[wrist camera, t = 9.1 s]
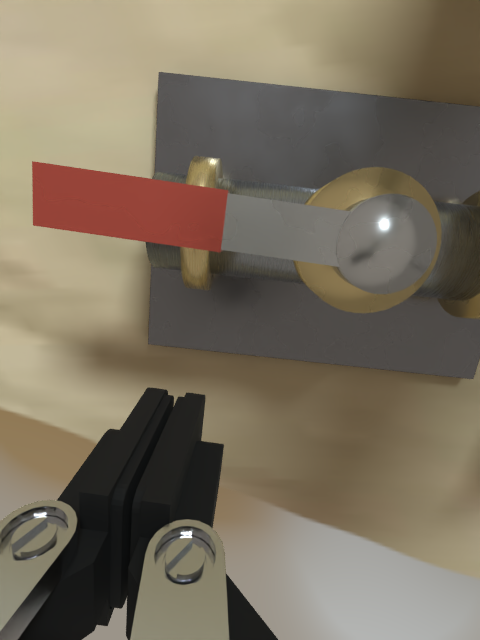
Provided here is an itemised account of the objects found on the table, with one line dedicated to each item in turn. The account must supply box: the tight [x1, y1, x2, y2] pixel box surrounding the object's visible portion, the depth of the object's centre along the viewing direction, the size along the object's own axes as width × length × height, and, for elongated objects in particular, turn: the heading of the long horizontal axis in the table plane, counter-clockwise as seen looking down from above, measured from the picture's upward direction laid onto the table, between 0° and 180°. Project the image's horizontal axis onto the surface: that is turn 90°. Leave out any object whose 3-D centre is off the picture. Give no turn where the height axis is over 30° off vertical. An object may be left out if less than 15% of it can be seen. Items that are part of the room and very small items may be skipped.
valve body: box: [146, 72, 480, 379], centre depth 18 cm, size 16×22×8 cm
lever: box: [32, 161, 437, 294], centre depth 13 cm, size 15×4×2 cm, turn 82°
